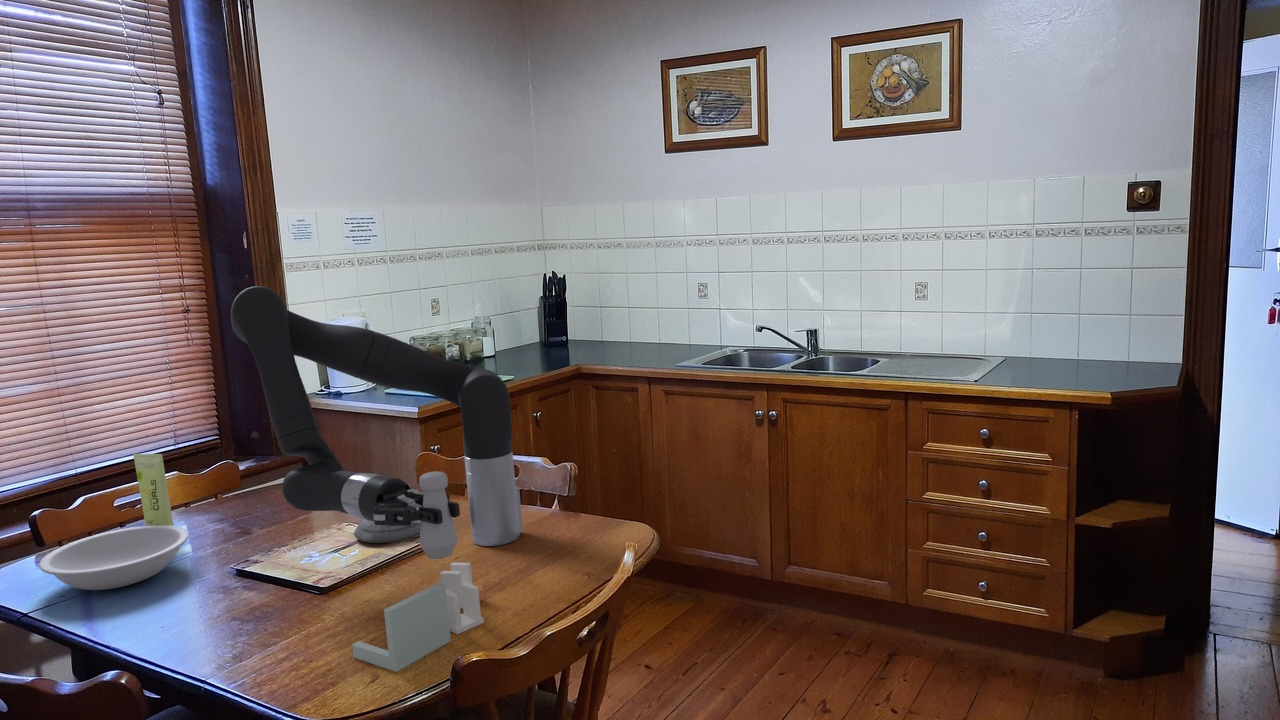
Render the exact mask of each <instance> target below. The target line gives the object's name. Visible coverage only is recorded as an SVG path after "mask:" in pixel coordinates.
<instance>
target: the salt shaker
mask: <svg viewBox="0 0 1280 720" xmlns="http://www.w3.org/2000/svg"><path fill="white" fill-rule="evenodd" d="M448 480H449V479H448V475H447V474H446V473H445V472H444V471H429V472H425V473H423V474H421V475H420V477H419V481H418V482H419V483H418V484H419V488H420V489H419V490H420V491H423V492H424V497H423V507H425V508H435V509H440V510H441V512H442V520H443V522H442V523H441V524H438V525H436V524H432V523H428V522H421V530H420V534H419V546H420V548H421V549H422V550H423V552H424V554H425V555H426V556H427V558H428V559H430V560H431V559H432V560H433V559H435V560H442V559H444V558H449V557H452V554H453V552H454V550H455V547H456V545H457V544H458V534H457V530H456V529H457V528H456V526H455V521H454V519H453V518H454V517H451V514H450V510H449V506H448V500H447V496H446V492H447V491H446V488H447V487H448V485H449V484H448V483H449V482H448ZM445 491H446V492H445Z"/></svg>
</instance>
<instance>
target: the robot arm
mask: <svg viewBox="0 0 1280 720" xmlns="http://www.w3.org/2000/svg"><path fill="white" fill-rule="evenodd" d="M230 323H231V327H232V331H233V332H234V334H235V336H237V338H238V339H240V340H241V341H242V342H244V343H245V344H247V345H248V347H249V349H250V351H251V354H252V355H253V358H254V361H255V364H256V366H257V370H258V373H259V376H260V380H261V384H262V388H263V394H264V398H265V402H266V407H267V411H268V414H269V418H270V421H271V424H272V427H273V430H274V434H275V437H276V439H277V442H278V445H279V448H280V451H281V452H282V454H283V455H284V456H288V457H300V458H301V457H302V458H303V459H304V460H306V461H307V462H308V465H306V466H302V467H298V468H295V469H292V470H291V471H290V472H288V473H287V474H286V476H284V479H283V481H282V484H281V485H282V486H281V491H282V495H283V498H284V499H285V501H286V502H287V503H288V504H289V505H290V506H291V507H293V508H295V509H297V510H300V511H305V512H307V511H308V512H327V511H329V512H332V511H336V512H339V513H343V514H347V515H351V516H353V517H355V518H358V519H360V520H361V519H362V520H364V519H365V520H369V521H373V522H374V524H375V525H394V526H409V525H411V522H416V523H421V522H428V523H432V524H436V525H438V524H441V523H442V522H443V520H442V512H441V510H440V509H435V508H425V507H423V497H424V491H423V490H419V489H415V488H411V487H410V486H409V485H408V483H407V482H406V481H404V480H403V479H400V478H398V477H393V476H392V477H391V476H387V475H381V474H377V473H372V472H371V473H369V472H368V473H366V472H365V473H363V472H358V471H352V470H344V468H343V466H342V464H341V463H340V461H339V459H338V458H337V457H336V455H335V454H334V453H333V451H332V449H331V448H330V446H329V445H328V443H327V442H326V440H325V439H324V438H323V436H322V434H321V431H320V428H319V424H318V422H317V419H316V416H315V414H314V413H315V412H314V409H313V407H312V405H311V401H310V399H309V396H308V393H307V391H306V388H305V385H304V383H303V379H302V378H301V374H300V372H299V369H298V364H297V362H296V358H295V356H296V357H299V358H301V359H302V358H303V359H306V360H309V361H311V362H314V363H316V364H319V365H321V366H323V367H327V368H328V369H332V370H333V371H334V370H335V371H337V372H340V373H342V374H344V375H345V374H346V375H348V376H350V377H354V378H356V379H359V380H362V381H365V382H368V383H371V384H374V385H378V386H381V387H383V388H390V389H394V390H395V389H396V390H401V391H408V392H409V391H410V392H416V393H423V394H427V395H430V396H431V395H432V396H434V397H436V398H439V399H442V400H444V401H447V402H449V403H451V404H453V405H455V406H457V407H460V414H461V424H462V425H461V426H462V437H463V439H462V442H463V444H462V445H463V455H464V457H463V458H464V465H465V477H466V487H467V497H468V498H467V499H468V509H469V510H468V511H469V518H470V519H469V521H470V527H471V528H470V529H471V530H470V531H471V538H472V543H474V544H475V545H478V546H483V547H491V546H492V547H495V546H502V545H507V544H510V543H512V542H514V541H516V540H517V539H519V537H520V535H521V534H523V533H524V529H523V518H522V509H521V508H522V507H521V506H522V504H521V495H520V487H519V485H516V477H515V476H516V475H515V467H514V466H515V465H514V454H513V425H512V423H513V422H512V421H513V420H512V409H511V399H510V397H511V396H510V393H509V392H510V391H509V389H508V386H507V384H506V383H505V382H504V380H503V379H502V378H501V377H500V376H499V375H498V374H497V373H495V372H494V371H492V370H490V369H486V368H481V367H476V366H471V365H467V364H463V363H458V362H455V361H451V360H447V359H444V358H442V357H439V356H436V355H434V354H432V353H430V352H428V351H426V350H423V349H421V348H419V347H417V346H416V345H415V346H414V345H412V344H410V343H408V342H405V341H402V340H401V339H397V338H395V337H392V336H389V335H387V334H384V333H380V332H378V331H375V330H373V329H368V328H365V327H364V328H363V327H360V326H359V327H358V326H351V325H343V324H332V323H326V322H319V321H316V320H313V319H310V318H309V317H308V318H307V317H305V316H303V315H300V314H298V313H295V312H293V311H290V310H288V307H287V305H286V303H285V300H284V299H283V298H282V296H280V294H278V293H277V292H276V291H274V290H273V289H272V288H269V287H265V286H260V285H259V286H257V285H255V286H251V287H247V288H245V289H244V290H242V291H241V292H239V293H238V294H237V296H236V297H235V298H234V300H233V303H232V304H231V309H230ZM445 492H446V496H447V500H448V506H449V510H450V514H451V517H452V518H454V519H455V518H458V517H459V516H460V515H461V511H460V504H459V503H458V502H455V501H451V499H450V497H451V496H450V493H449V492H448V491H446V490H445Z"/></svg>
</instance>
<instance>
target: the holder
mask: <svg viewBox="0 0 1280 720" xmlns="http://www.w3.org/2000/svg"><path fill="white" fill-rule="evenodd" d="M383 615H384V625H385V631H386V640H387V641H386V642H387V649H384V648H381V647H378V646H376V645H372V644H369V643H366V642H363V641H360V640H358V641H357V642H355V643H352V645H351V646H352V647H351V648H352V654H353V655H352V656H353V658H354V659H357V660H359V661H363V662H366V663H368V664H370V665H371V664H372V665H374V666H378V667H379V668H380V667H381V668H383V669H386V670H389V671H391V672H395V673H397V672H399V671H401V670H402V669H405V668H407V667H408V666H410V665H412V664H413V663H415V662H416V661H417V662H418V660H420V659H422V658H424V657H425V656H428V655H429V654H431V653H432V652H434V651H436V650H437V649H440V648H441V647H443V646H445V645H446V644H449V643H450V642H451V639H452V638H451V631H450V629H449V619H448V609H447V599H446V589H445V584H444V583H441V581H440V582H438V583H437V582H436V583H435V584H433V585H431V586H429V587H427V588H425V589H422V590H421V591H419V592H417V593H415V594H412V595H411V596H408V597H407V598H405V599H403V600H401V601H399V602H397V603H395V604H393V605H390V606H389V607H386V608H385V609H383Z"/></svg>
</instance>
